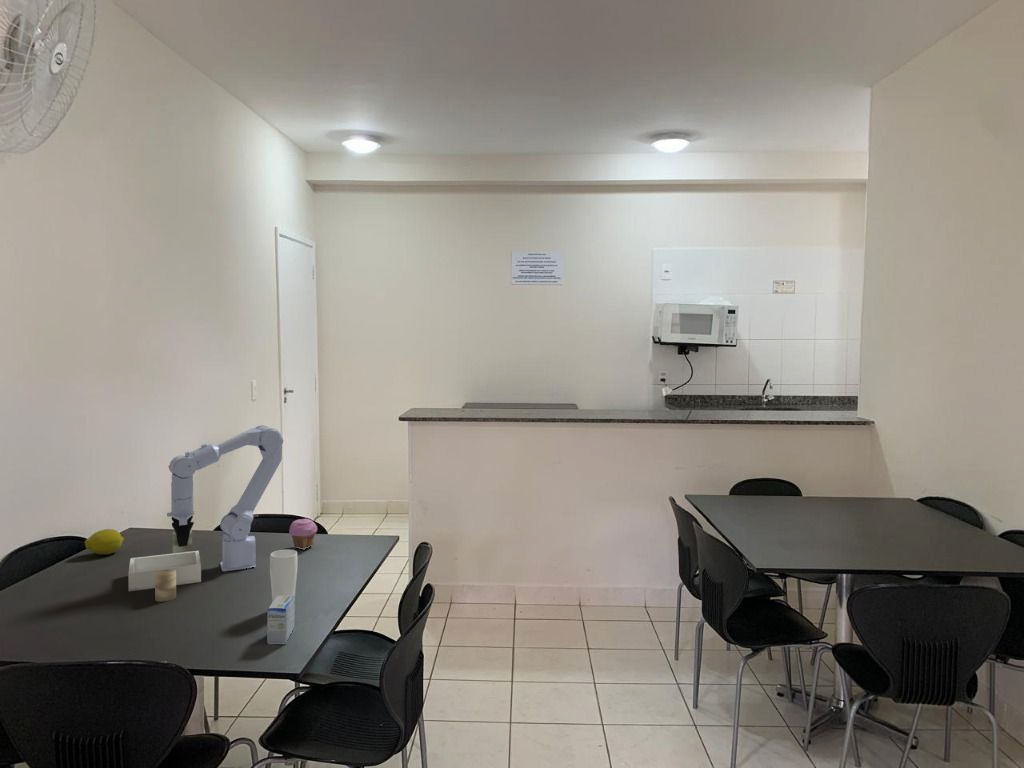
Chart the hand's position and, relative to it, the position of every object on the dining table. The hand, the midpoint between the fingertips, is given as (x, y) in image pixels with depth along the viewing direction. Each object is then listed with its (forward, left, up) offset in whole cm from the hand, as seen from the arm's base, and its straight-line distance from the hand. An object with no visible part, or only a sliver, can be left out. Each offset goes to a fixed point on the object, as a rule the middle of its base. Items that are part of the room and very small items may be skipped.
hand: (182, 543), depth 193 cm
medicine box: (-20, +53, -10) cm, 57 cm away
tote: (+4, 0, -10) cm, 11 cm away
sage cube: (0, 0, -2) cm, 2 cm away
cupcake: (-37, -13, -10) cm, 40 cm away
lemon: (+21, -31, -10) cm, 39 cm away
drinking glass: (-23, +37, -10) cm, 44 cm away
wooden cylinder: (+4, +16, -10) cm, 19 cm away
